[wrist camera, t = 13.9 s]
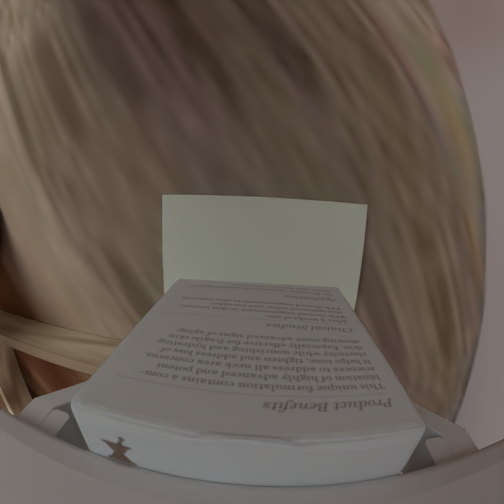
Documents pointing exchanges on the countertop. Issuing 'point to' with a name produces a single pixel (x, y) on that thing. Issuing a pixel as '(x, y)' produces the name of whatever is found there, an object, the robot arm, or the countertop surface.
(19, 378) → the crate
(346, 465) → the product box
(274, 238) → the plate
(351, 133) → the countertop surface
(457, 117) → the countertop surface
